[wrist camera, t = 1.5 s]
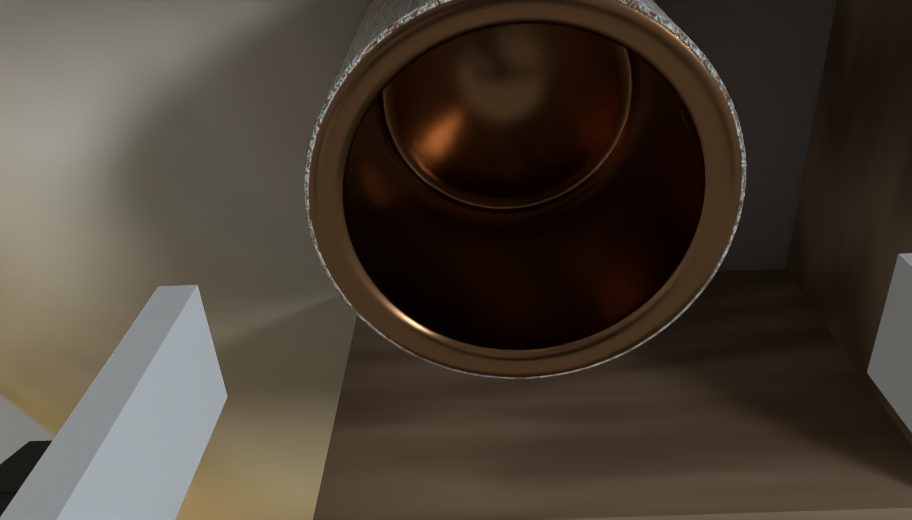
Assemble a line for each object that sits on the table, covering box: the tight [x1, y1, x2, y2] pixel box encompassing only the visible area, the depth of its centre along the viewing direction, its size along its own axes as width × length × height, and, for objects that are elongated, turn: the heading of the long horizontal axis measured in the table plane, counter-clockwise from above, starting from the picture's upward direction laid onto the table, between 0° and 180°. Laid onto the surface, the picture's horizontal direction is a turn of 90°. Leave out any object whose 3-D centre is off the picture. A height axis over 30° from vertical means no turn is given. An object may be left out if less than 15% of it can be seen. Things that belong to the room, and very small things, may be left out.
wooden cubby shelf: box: [313, 0, 912, 520], centre depth 21 cm, size 18×18×12 cm
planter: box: [304, 0, 746, 379], centre depth 22 cm, size 11×11×10 cm
